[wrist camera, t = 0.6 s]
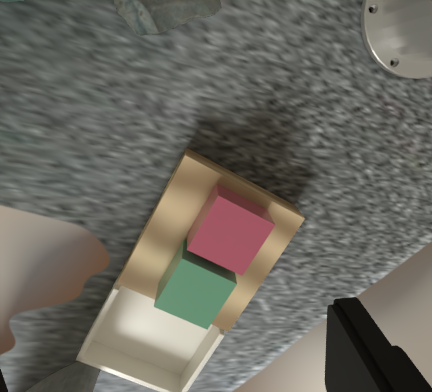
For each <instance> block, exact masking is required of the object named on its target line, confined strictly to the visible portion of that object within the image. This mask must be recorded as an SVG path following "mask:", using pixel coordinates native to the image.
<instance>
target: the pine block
mask: <svg viewBox="0 0 432 392" xmlns="http://www.w3.org/2000/svg"><path fill="white" fill-rule="evenodd" d="M216 183H218V184H219V185H221V186H223V187H225V188H227V189H229V190H231V191H233V192H235V193H237V194H239V195H240V196H242V197H244V198H246V199H248V200H250V201H252V202H254V203H256V204H258V205H260V206H262V207H263V208H265V209H267V210H268V212H269V214H270V215H271V217H272V219H273V221H274V223H275V227H274V228H273V230H272V231H271V233H270V234H269V236H268V237H267V239H266V240H265V242H264V244H263V245H262V247H261V248H260V250H259V251H258V253H257V254H256V256H255V257H254V259H253V260H252V262H251V264H250V265H249V267H248V268H247V270H246V271H245V273H244V274H243V276H241V275H239V274H237V273H235V275H236V280H237V285H236V287H235V288H234V290H233V291H232V293H231V294H230V296H229V297H228V299H227V300H226V302H225V304H224V305H223V307H222V308H221V310H220V311H219V313H218V314H217V316H216V317H215V319H214V320H213V322H212V325H214V326H216V327H219V328H221V329H223V330H226V331H228V332H229V331H230V329H231V328H232V326H233V325H234V323H235V322H236V320H237V319H238V317H239V316H240V314H241V313H242V312H243V310H244V309H245V307H246V306H247V304H248V303H249V301H250V300H251V298H252V297H253V295H254V294H255V292H256V291H257V289H258V288H259V286H260V285H261V283H262V282H263V280H264V279H265V277H266V276H267V274H268V273H269V271H270V270H271V268H272V267H273V265H274V264H275V262H276V261H277V260H278V258H279V257H280V255H281V254H282V252H283V251H284V249H285V248H286V246H287V245H288V243H289V242H290V240H291V239H292V237H293V236H294V234H295V233H296V231H297V230H298V228H299V227H300V225H301V224H302V222H303V221H304V219H305V218H304V217H303V215H302V214H301V213H300V211H299V210H298V209H297V208H296V206H295V205H293V204H291V203H289V202H287V201H286V200H284V199H282V198H280V197H278V196H276V195H274V194H272V193H271V192H269V191H267V190H265V189H263V188H261V187H259V186H257V185H256V184H254V183H252V182H250V181H248V180H246V179H244V178H243V177H241V176H239V175H237V174H235V173H233V172H231V171H229V170H228V169H226V168H224V167H222V166H220V165H218V164H216V163H214V162H213V161H211V160H209V159H207V158H205V157H203V156H201V155H200V154H198V153H196V152H194V151H192V150H190V149H188V148H186V150H185V152H184V153H183V155H182V157H181V159H180V161H179V163H178V165H177V167H176V169H175V170H174V172H173V174H172V176H171V178H170V180H169V182H168V184H167V185H166V187H165V189H164V191H163V193H162V195H161V197H160V199H159V201H158V202H157V204H156V206H155V208H154V210H153V212H152V214H151V216H150V217H149V219H148V221H147V223H146V225H145V227H144V229H143V231H142V233H141V234H140V236H139V238H138V240H137V242H136V244H135V246H134V248H133V249H132V251H131V253H130V255H129V257H128V259H127V261H126V263H125V265H124V267H123V269H122V272H121V274H120V276H119V279H118V281H117V284H119V285H122V286H124V287H126V288H128V289H131V290H133V291H135V292H138V293H140V294H142V295H145V296H147V297H149V298H152V299H154V300H155V297H156V292H157V288H158V284H159V282H160V280H161V278H162V277H163V275H164V273H165V271H166V270H167V268H168V266H169V264H170V263H171V261H172V259H173V257H174V256H175V254H176V252H177V250H178V249H179V247H180V245H181V243H182V242H183V240H186V241H187V240H188V231H189V230H190V228H191V226H192V224H193V223H194V221H195V219H196V217H197V216H198V214H199V212H200V210H201V209H202V207H203V205H204V203H205V202H206V200H207V198H208V196H209V195H210V193H211V191H212V189H213V188H214V186H215V184H216Z"/></svg>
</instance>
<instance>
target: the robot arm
mask: <svg viewBox="0 0 432 392" xmlns="http://www.w3.org/2000/svg"><path fill="white" fill-rule="evenodd" d="M369 8H371V13H370V12H369ZM360 22H361V31H362V36H363V40H364V43H365V46H366V48H367V50H368V52H369V54H370V55H371V57H372V58H373V59H374V61H375V62H376V63H377V64H378V65H379V66H380V67H382V68H383V69H384V70H386V71H387V72H389V73H391V74H393V75H396V76H398V77H403V78H416V79H419V78H428V77H432V0H363V2H362V6H361V19H360ZM391 61H392V64H391V65H390V62H391ZM325 385H326V390H327V392H432V388H431V386H430V385H429V384H428V382H427V381H426V380H425V378H424V377H423V376H422V374H421V373H420V372H419V370H418V369H417V368H416V366H415V365H414V364H413V362H412V361H411V360H410V358H409V357H408V356H407V354H406V353H405V352H404V351H403V350H402V349H401V348H400V347H398V346H391V344H390V343H389V341H388V340H387V339H386V337H385V336H384V334H383V333H382V331H381V330H380V329H379V327H378V326H377V324H376V323H375V322H374V320H373V319H372V318H371V316H370V315H369V313H368V312H367V310H366V309H365V308H364V306H363V305H362V304H361V302H360V301H359V300H358V299H357V298H356V297H352V298H340V299H335V300H334V303H333V305H328V309H327V335H326V361H325ZM0 392H8V389H7V387H6V384H5V381H4V378H3V375H2V372H1V369H0Z"/></svg>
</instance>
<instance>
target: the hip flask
mask: <svg viewBox="0 0 432 392" xmlns="http://www.w3.org/2000/svg"><path fill="white" fill-rule="evenodd" d="M99 372H100V369H99V368H96V367H93V366H91V365H88V364H85V363H83V362H80V361H78V362H76V363H73V364H71V365H69V366H67V367H65V368H62V369H60V370H58V371H57V372H55V373H53V374H51V375H49V376H48V377H46V378H44V379H43V380H41V381H40V382H38V383H37V384H35V385H33V386H32V387H31V388H29V389H28V390H27V391H25V392H93V389H94V386H95V384H96V381H97V378H98V375H99Z"/></svg>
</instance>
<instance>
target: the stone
mask: <svg viewBox="0 0 432 392" xmlns="http://www.w3.org/2000/svg"><path fill="white" fill-rule="evenodd" d="M114 4H115V6H116V9H117V13H118V14H120V15H121V16H122V17H123V18H124V19H125V20H126V21H127V23H128V24H129V26H130V27H131V28H132V29H133V30H134V31H135V32H136V33H137V34H139V35H147V34H159V33H162V32H165V31H168V30H170V29H174V28H176V27H177V26H178V25H182V24H185V23H188V22H190V21H191V20H193V19H199V18H204V17H209V16H212V15H214V14H215V13H216V12H217V11H218V10H219V9H221V3H220V0H114Z"/></svg>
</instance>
